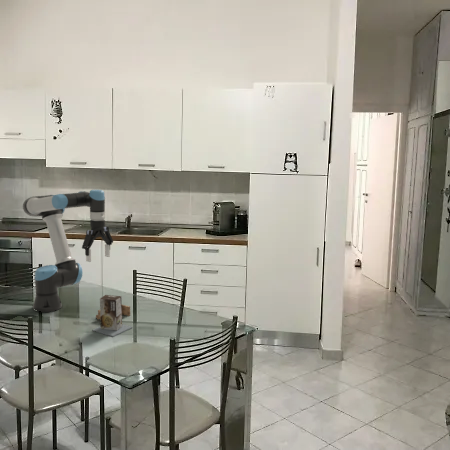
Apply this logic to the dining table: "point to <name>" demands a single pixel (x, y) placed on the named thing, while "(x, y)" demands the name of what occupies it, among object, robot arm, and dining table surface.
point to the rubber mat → (113, 332)
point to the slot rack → (124, 311)
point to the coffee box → (111, 312)
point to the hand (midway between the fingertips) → (98, 259)
